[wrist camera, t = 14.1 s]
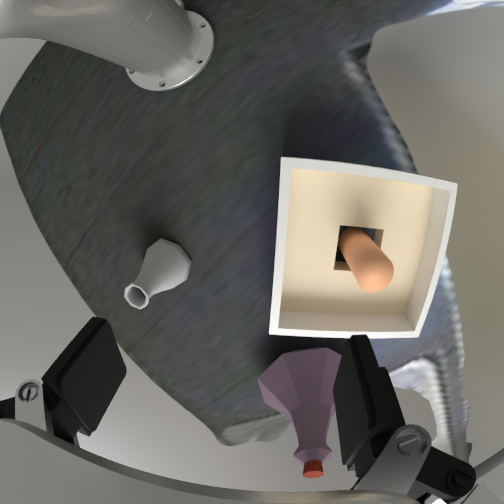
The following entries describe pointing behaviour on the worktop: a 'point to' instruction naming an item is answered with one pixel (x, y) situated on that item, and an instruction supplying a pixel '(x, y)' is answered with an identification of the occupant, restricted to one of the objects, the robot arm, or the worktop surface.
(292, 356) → the flask
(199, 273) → the worktop surface
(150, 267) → the flask
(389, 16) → the worktop surface
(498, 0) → the worktop surface
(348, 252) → the peg
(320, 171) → the box
